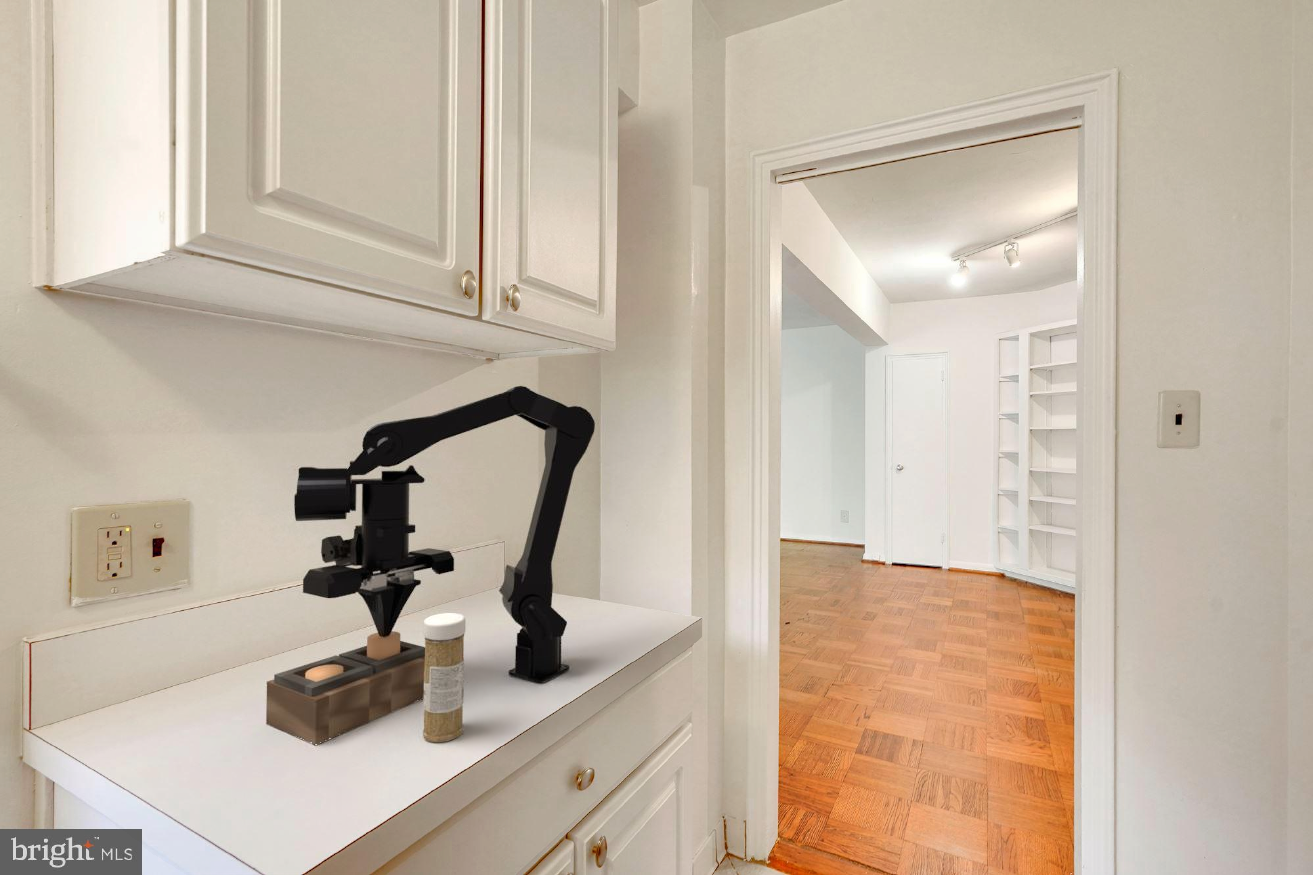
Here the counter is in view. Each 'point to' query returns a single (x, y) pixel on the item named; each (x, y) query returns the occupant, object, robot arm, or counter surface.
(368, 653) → the peg
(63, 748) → the counter surface
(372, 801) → the counter surface
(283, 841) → the counter surface
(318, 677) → the peg
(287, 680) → the socket block
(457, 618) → the sprinkles bottle
